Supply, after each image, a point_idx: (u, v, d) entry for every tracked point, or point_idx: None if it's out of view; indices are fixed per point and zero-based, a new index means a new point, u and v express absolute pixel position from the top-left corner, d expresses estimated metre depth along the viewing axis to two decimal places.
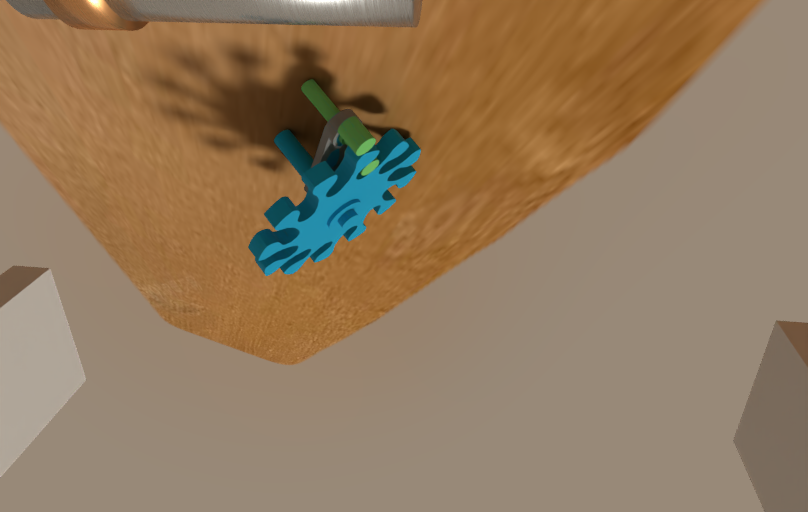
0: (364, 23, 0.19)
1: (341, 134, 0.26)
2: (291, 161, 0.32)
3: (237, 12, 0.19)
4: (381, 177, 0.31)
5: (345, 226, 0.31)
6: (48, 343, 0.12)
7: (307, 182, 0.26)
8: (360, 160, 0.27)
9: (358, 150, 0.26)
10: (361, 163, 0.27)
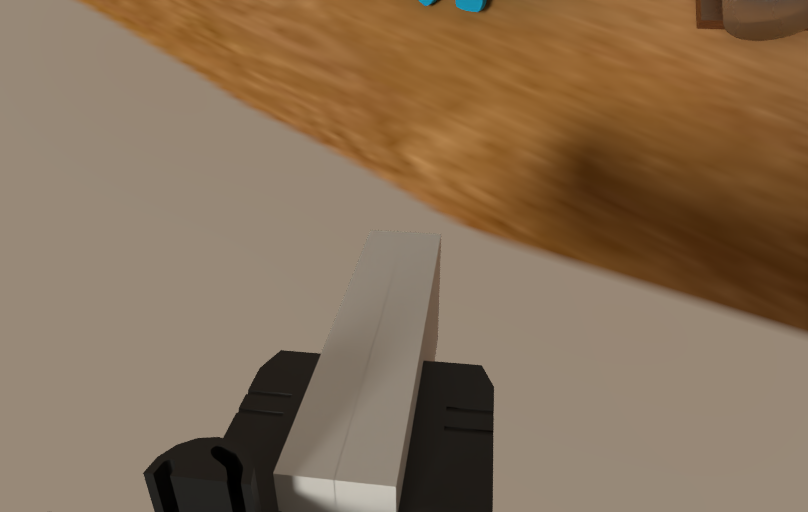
0: None
1: None
2: None
3: None
4: None
5: None
6: None
7: None
8: None
9: None
10: None
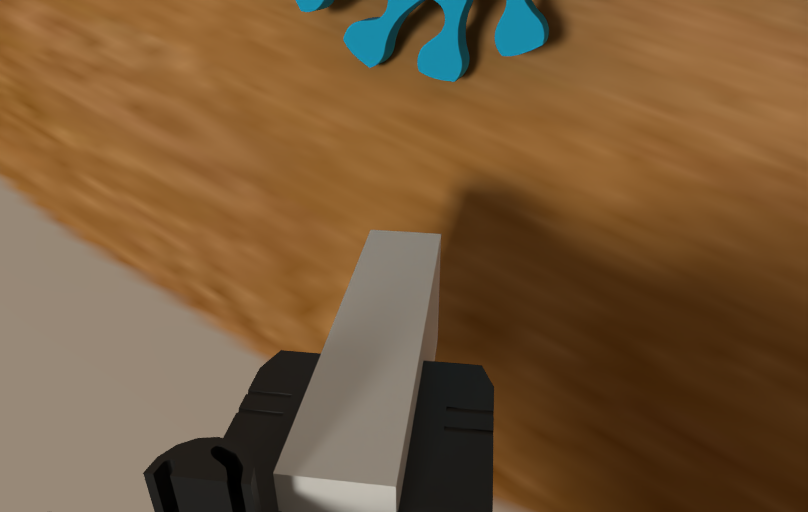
0: None
1: None
2: None
3: None
4: None
5: None
6: None
7: None
8: None
9: None
10: None
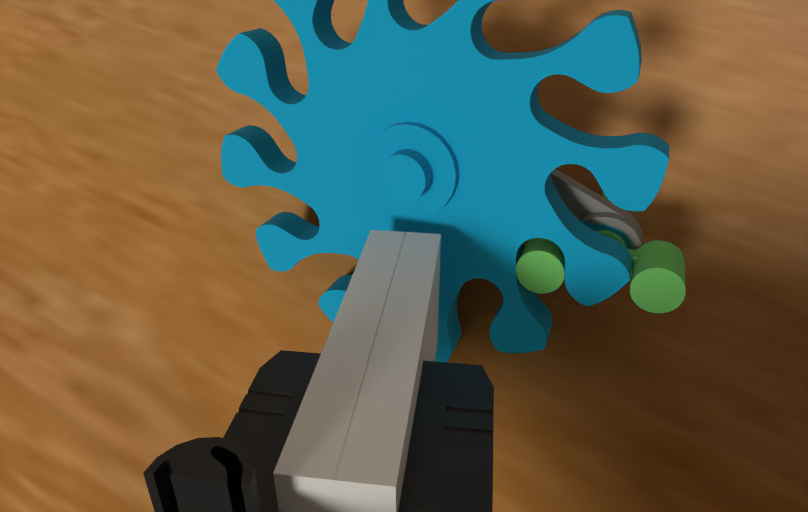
0: None
1: (669, 247, 0.13)
2: None
3: None
4: (447, 278, 0.14)
5: (398, 162, 0.13)
6: None
7: (661, 144, 0.12)
8: (614, 267, 0.12)
9: (669, 275, 0.12)
10: (594, 264, 0.13)
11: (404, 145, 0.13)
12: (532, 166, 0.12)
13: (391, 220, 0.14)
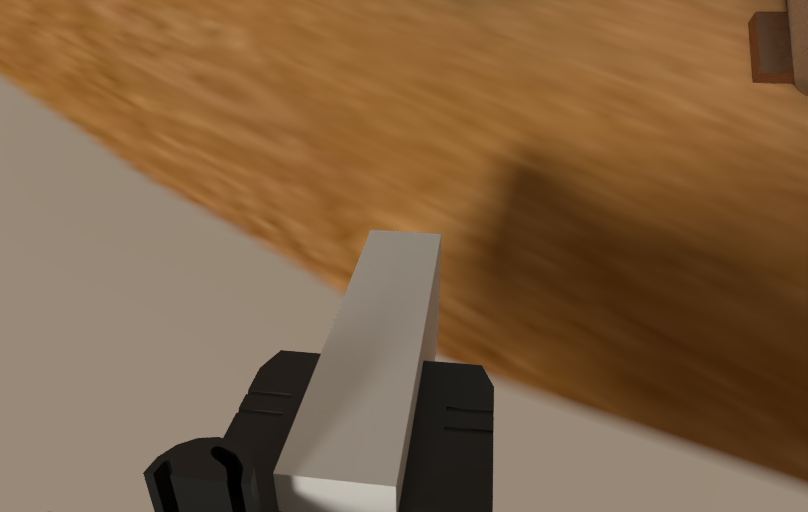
0: None
1: None
2: None
3: None
4: None
5: None
6: None
7: None
8: None
9: None
10: None
11: None
12: None
13: None
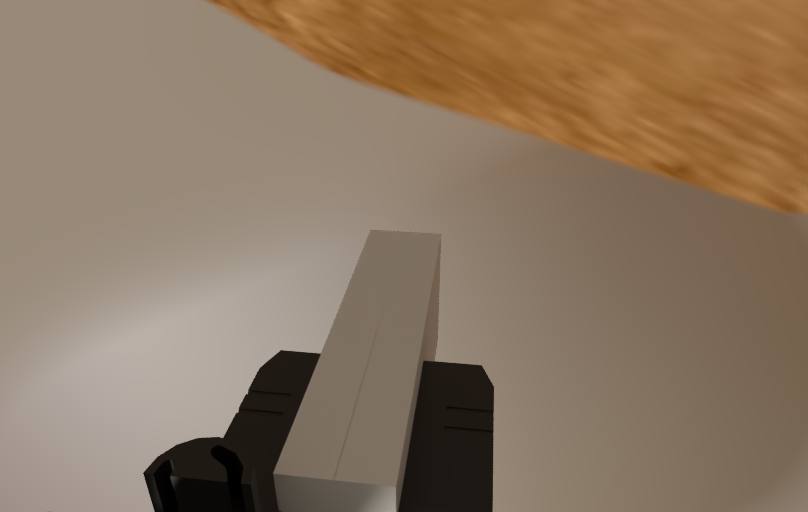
0: None
1: None
2: None
3: None
4: None
5: None
6: None
7: None
8: None
9: None
10: None
11: None
12: None
13: None
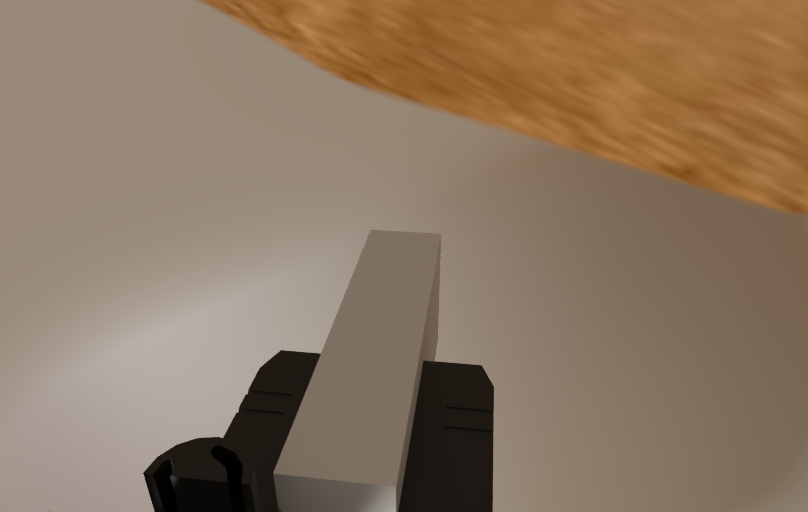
0: None
1: None
2: None
3: None
4: None
5: None
6: None
7: None
8: None
9: None
10: None
11: None
12: None
13: None
